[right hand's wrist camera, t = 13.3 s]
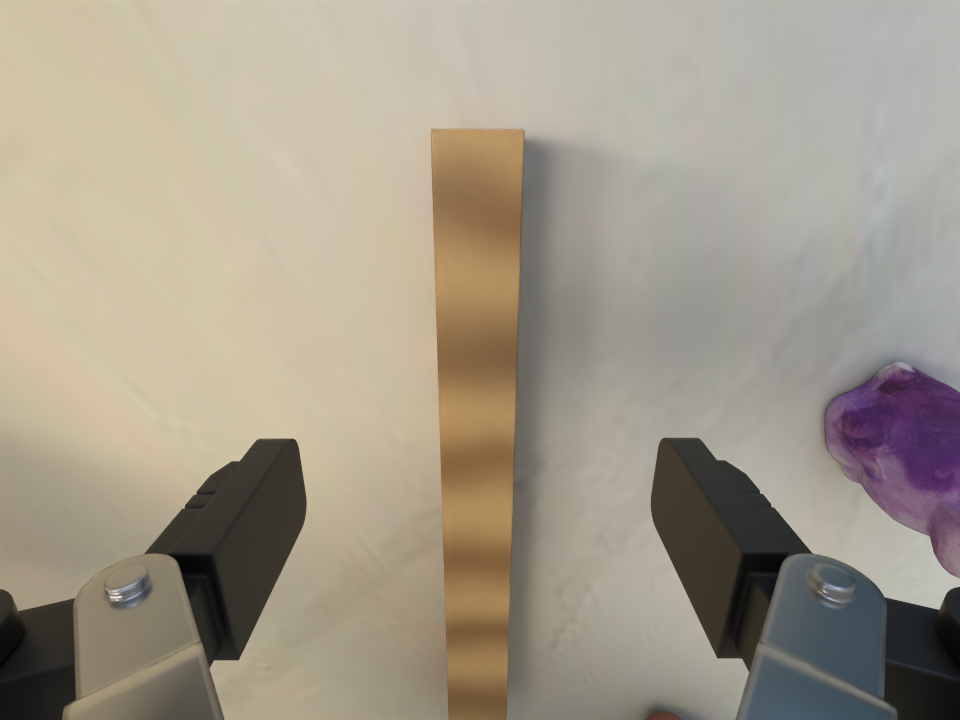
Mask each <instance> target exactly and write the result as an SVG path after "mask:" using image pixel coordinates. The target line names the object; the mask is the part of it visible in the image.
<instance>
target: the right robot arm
mask: <svg viewBox="0 0 960 720" xmlns="http://www.w3.org/2000/svg"><path fill="white" fill-rule="evenodd" d="M651 512H652V518H653V522H654V525H655V527H656V529H657V531H658V534H659V536H660V538H661V540H662V542H663V544H664V546H665V548H666V551H667V553H668V555H669V557H670V559H671V561H672V563H673V565H674V567H675V570H676V572H677V574H678V576H679V578H680V580H681V582H682V584H683V586H684V589H685V591H686V593H687V595H688V597H689V599H690V601H691V603H692V606H693V608H694V610H695V612H696V614H697V616H698V618H699V620H700V622H701V625H702V627H703V629H704V631H705V633H706V635H707V637H708V639H709V641H710V644H711V646H712V648H713V650H714V652H715V654H716V656H717V658H742V659H743V661H744V663H745V665H746V667H747V669H748V671H749V676H748V679H747V682H746V686H745V689H744V693H743V696H742V699H741V703H740V706H739V710H738V713H737V716H736V720H960V587H957V588H953V589H951V590H950V591H949V592H948V593H947V594H946V596H945V598H944V601H943V603H942V605H941V608H940V610H937V609H933V608H928V607H924V606H919V605H915V604H911V603H906V602H902V601H898V600H893V599H889V598H885V597H884V596H883V594H882V592H881V591H880V589H879V588H878V587H877V586H876V585H875V584H874V583H873V582H872V581H871V580H870V579H869V578H868V577H866V576H865V575H864V574H862V573H861V572H859V571H858V570H856V569H854V568H853V567H851V566H849V565H847V564H845V563H843V562H840V561H838V560H836V559H833V558H829V557H826V556H822V555H817V554H812V552H811V551H810V550H809V549H808V548H807V546H806V545H805V544H804V543H803V542H802V540H801V539H800V538H799V537H798V536H797V534H796V533H795V532H794V531H793V530H792V528H791V527H790V526H789V525H788V524H787V523H786V521H785V520H784V519H783V518H782V517H781V515H780V514H779V513H778V512H777V511H776V509H775V508H772V507H771V503H770V502H769V501H768V500H767V499H766V497H765V496H764V495H763V494H760V490H759V489H758V488H757V487H756V485H755V484H754V483H753V482H752V481H751V479H750V478H749V477H748V476H747V475H746V474H745V473H743V472H742V471H740V470H739V469H737V468H736V467H734V466H733V465H731V464H730V463H728V462H727V461H725V460H716V459H715V457H714V456H713V455H712V453H711V452H710V451H709V450H708V448H707V447H706V446H705V444H704V443H703V442H702V441H701V440H700V439H699V438H663V439H662V440H661V441H660V444H659V447H658V454H657V461H656V467H655V474H654V481H653V488H652V494H651ZM305 515H306V493H305V486H304V479H303V473H302V466H301V459H300V453H299V447H298V444H297V442H296V440H295V439H258V440H256V442H255V443H254V444H253V445H252V447H251V448H250V449H249V450H248V452H247V453H246V454H245V455H244V457H243V458H242V459H241V460H240V461H232V462H230V463H229V464H227V465H226V466H224V467H223V468H221V469H220V470H218V471H216V472H215V473H213V474H212V475H210V477H209V478H208V479H207V480H206V481H205V482H204V484H203V485H202V486H201V487H200V488H199V490H198V491H197V494H196V495H194V496H193V497H192V498H191V499H190V500H189V501H188V503H187V504H186V505H185V509H182V510H181V511H180V512H179V513H178V514H177V516H176V517H175V518H174V519H173V520H172V522H171V523H170V524H169V525H168V526H167V528H166V529H165V530H164V531H163V532H162V533H161V535H160V536H159V537H158V538H157V539H156V541H155V542H154V543H153V544H152V545H151V546H150V548H149V549H148V550H147V551H146V552H145V554H143V555H138V556H134V557H131V558H127V559H124V560H122V561H120V562H117V563H115V564H113V565H111V566H109V567H107V568H106V569H104V570H102V571H101V572H99V573H98V574H96V575H95V576H94V577H92V578H91V579H90V580H89V581H88V582H87V583H86V584H85V585H84V586H83V587H82V588H81V589H80V591H79V592H78V594H77V596H76V598H74V599H70V600H66V601H62V602H57V603H53V604H49V605H44V606H40V607H36V608H31V609H27V610H22V611H18V609H17V607H16V605H15V603H14V600H13V598H12V596H11V595H10V594H9V593H8V592H7V591H5V590H1V589H0V720H224V716H223V713H222V710H221V706H220V703H219V699H218V696H217V693H216V689H215V686H214V682H213V679H212V676H211V672H210V669H209V668H210V666H211V665H212V663H213V661H214V660H239V659H240V656H241V654H242V652H243V650H244V648H245V646H246V644H247V642H248V640H249V638H250V636H251V633H252V631H253V629H254V627H255V625H256V623H257V621H258V619H259V617H260V615H261V613H262V610H263V608H264V606H265V604H266V602H267V600H268V598H269V596H270V594H271V592H272V590H273V588H274V585H275V583H276V581H277V579H278V577H279V575H280V573H281V571H282V569H283V567H284V565H285V562H286V560H287V558H288V556H289V554H290V552H291V550H292V548H293V546H294V544H295V542H296V539H297V537H298V535H299V533H300V531H301V529H302V527H303V524H304V520H305Z"/></svg>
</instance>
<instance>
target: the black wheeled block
mask: <svg viewBox="0 0 960 720" xmlns="http://www.w3.org/2000/svg"><path fill="white" fill-rule="evenodd" d="M646 720H681V719H680V718H679V717H677V716H676V715H674V714H671V713H668V712H658V713H654V714H652V715H651V716H649V717H648V718H647V719H646Z"/></svg>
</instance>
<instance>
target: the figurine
mask: <svg viewBox="0 0 960 720" xmlns="http://www.w3.org/2000/svg"><path fill="white" fill-rule="evenodd" d="M825 437H826V444H827V448H828V452H829V453H830V454H831V455H832V457H833V458H834V459H835V460H836V461H838V462H839V463H840V464H841V467H842V470H843V472H844V474H845V476H846V477H847V478H848V479H850V480H852V481H854V482H857V483H860V484H862V486H863V488H864V489H865V491H866V492H867V494H868V495H869V496H870V497H871V498H872V500H873V501H874V502H875V503H876V504H877V505H878V506H879V507H880V508H881V509H882V510H883V511H884V512H885V513H886V514H888V515H889V516H890V517H891V518H893V519H894V520H896V521H897V522H899V523H901V524H902V525H904V526H906V527H908V528H910V529H913V530H915V531H918V532H920V533H923V534H925V535H928V536H930V538H931V543H932V547H933V551H934V554H935V556H936V558H937V559H938V561H939V563H940V564H941V566H942V567H943V568H944V569H945V570H946V571H947V572H949V573H950V574H952V575H953V576H955V577H958V578H960V393H959V392H958V391H956V390H955V389H953V388H952V387H950V386H948V385H946V384H944V383H942V382H939V381H937V380H935V379H933V378H931V377H929V376H927V375H926V374H924V373H923V372H921V371H920V370H918V369H916V368H915V367H913V366H912V365H910V364H908V363H905V362H895V363H891V364H889V365H886V366H884V367H883V368H881V369H880V370H879V371H878V372H877V373H876V374H875V375H874V376H873V377H872V378H871V379H870V380H869V381H867V382H866V383H865V384H863V385H861V386H859V387H858V388H856V389H853V390H852V391H851V392H848V393H846V394H843V395H840V396H838V397H837V398H836V399H833V400H832V403H831V404H830V405H829V407H828V408H827V410H826V412H825Z"/></svg>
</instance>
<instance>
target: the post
mask: <svg viewBox="0 0 960 720" xmlns="http://www.w3.org/2000/svg"><path fill="white" fill-rule="evenodd" d="M431 156H432V189H433V222H434V255H435V287H436V320H437V353H438V386H439V418H440V451H441V484H442V517H443V549H444V582H445V615H446V648H447V680H448V713H449V720H506V712H507V680H508V648H509V615H510V583H511V550H512V518H513V486H514V453H515V421H516V388H517V356H518V324H519V291H520V259H521V226H522V194H523V162H524V130H523V129H432V130H431Z"/></svg>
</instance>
